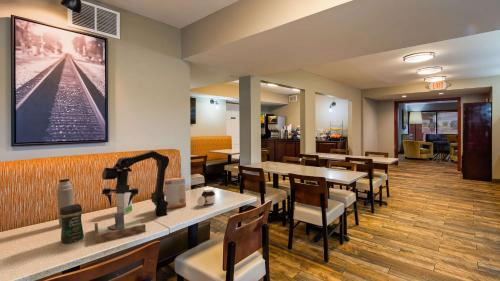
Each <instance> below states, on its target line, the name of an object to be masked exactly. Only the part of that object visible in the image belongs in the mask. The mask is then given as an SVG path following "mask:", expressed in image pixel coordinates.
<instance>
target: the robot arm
mask: <svg viewBox="0 0 500 281" xmlns="http://www.w3.org/2000/svg"><path fill="white" fill-rule="evenodd" d="M150 159H153V160H155V162H156V167H157V175H156V182H155V189H154V192H151V193H150V194H151V197H150V200H151V202H152V204H154V206H155V208H154V214H155V216H156V217H158V218H159V217H164V216H167V215H168V212H167V210H168V209H167V207H166V206H168V202H167V201H166V197H165V193H164V187H165V179H166V178H165V175H166V169H167V168H168V166H169V163H170V158H169V156H166V155H163V154H161V153H159V152H157V151H156V150H149V151H147V152H143V153H140V154H136V155H133V156H123V157H120V158H119V157H118V159H117V161H116V163H115V164H114V165H113V166H112V167H104V169H103V171H102V174H101V177H102V180H104V181H107V180H109V181H110V180H116V184H115V188H114V189H112V188H111V187H104V188H103V189H102V191H101V192H102V195H104V196H105V197H107V199H108V202H109V206H110V207H112V204H113V201H112V200H113V198H112V197H113V196H112V194H113V193H115V195H116V194H125V193H131V194H130V198H129V202H128V206H129V204H130V202H131V200H132V201H133V198H134V196H136V195H138V194H139V188H138V187H131V189H130V184H128V179H129V172H130V173H131V172H133V170H132V169H131V168H130V167H131V166H133V165H135V164H136V163H139V162H143V161H146V160H150Z"/></svg>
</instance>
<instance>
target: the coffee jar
mask: <svg viewBox="0 0 500 281" xmlns="http://www.w3.org/2000/svg"><path fill="white" fill-rule="evenodd" d="M82 214H83V207H82V205H81V204H80V203H74V205H70V206H65V207H61V208H60V217H61V219H62V227H61V231H60V242H61V243H63V244H70V243H74V242H76V241H79V240H82V239H83V238H84V237H85V235H84V229H83V228H84V227H83V222H82Z"/></svg>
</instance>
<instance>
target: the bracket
mask: <svg viewBox="0 0 500 281" xmlns="http://www.w3.org/2000/svg"><path fill="white" fill-rule="evenodd" d="M124 215H125V214H124V212H120V213H117V212H116V214H114V221H115V222H114V223H113V224H111V225H109V226H106V227H107V229H108V230H111V231H115V230H119V229H124V223H125V216H124Z"/></svg>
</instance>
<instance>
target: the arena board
mask: <svg viewBox="0 0 500 281" xmlns="http://www.w3.org/2000/svg"><path fill="white" fill-rule="evenodd" d="M138 225H142V221H141V220H140V219H138V220H133V221H128V222H124V228H129V227H133V226H138ZM107 227H108V226H104V227H100V228H99V227H98V234H101V233H105V232H110V231H111V230H108V229H107ZM146 232H147V231H143V233H146ZM140 234H142V232H141V233H140ZM134 235H138V234H137V233H136V234H135V233H134ZM96 244H99V243H98V242H97V243H96Z"/></svg>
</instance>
